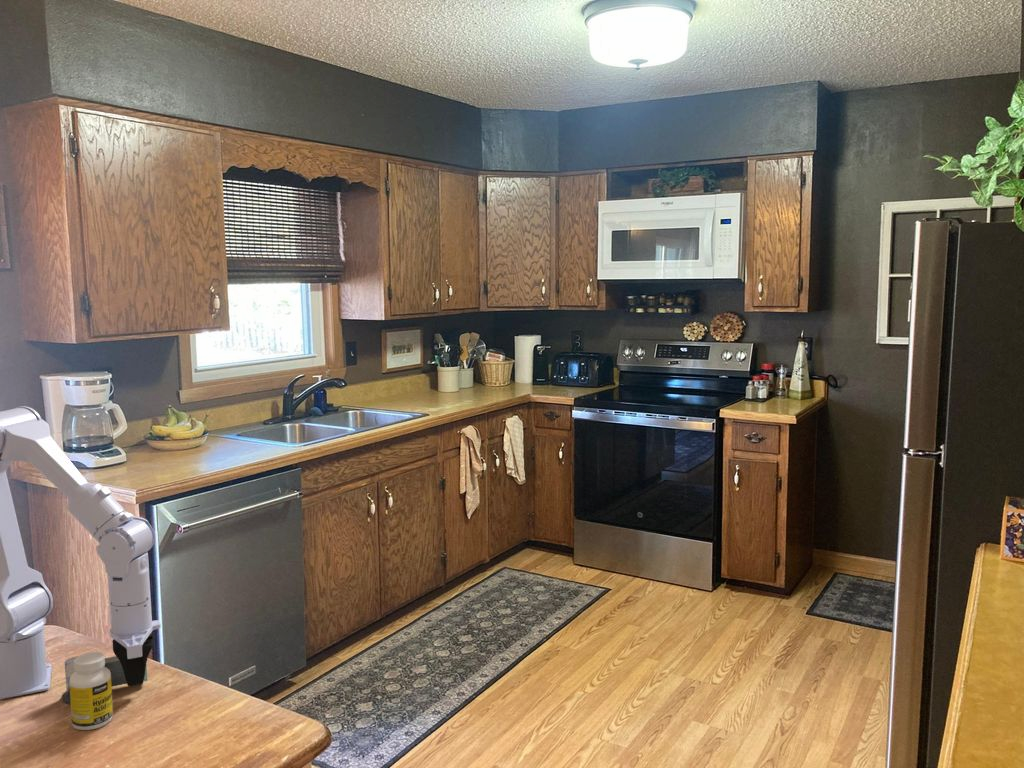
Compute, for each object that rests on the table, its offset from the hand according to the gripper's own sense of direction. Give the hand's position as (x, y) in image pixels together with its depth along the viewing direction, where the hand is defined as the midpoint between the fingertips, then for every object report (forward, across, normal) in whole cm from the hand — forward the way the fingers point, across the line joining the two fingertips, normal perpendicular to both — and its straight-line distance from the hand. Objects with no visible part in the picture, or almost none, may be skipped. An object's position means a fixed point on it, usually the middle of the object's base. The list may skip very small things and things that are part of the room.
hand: (135, 683), depth 130 cm
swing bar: (+1, +4, +4) cm, 5 cm away
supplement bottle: (+2, -6, +6) cm, 8 cm away
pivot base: (+2, +4, +8) cm, 9 cm away
